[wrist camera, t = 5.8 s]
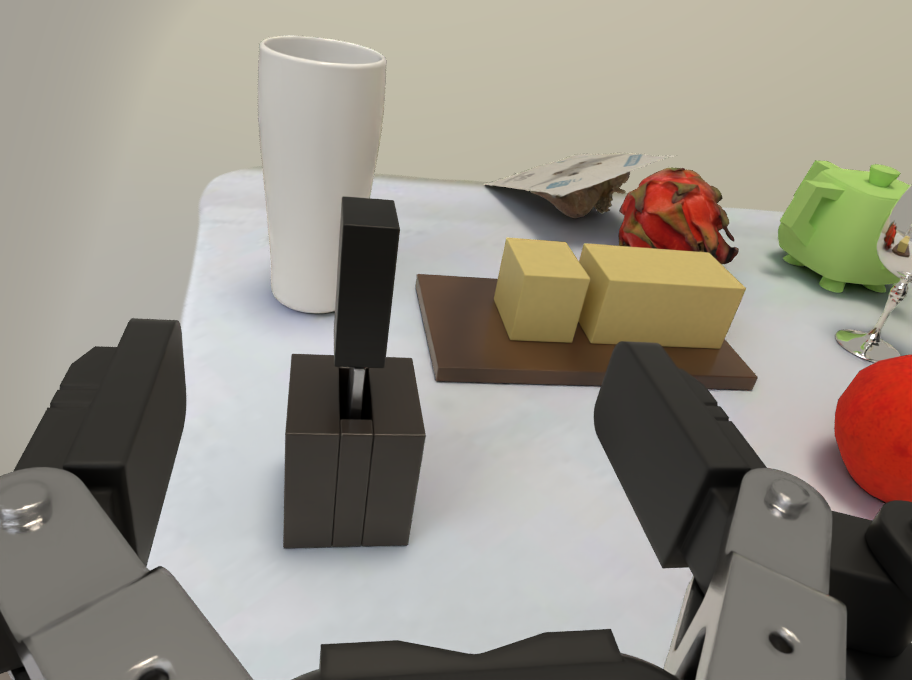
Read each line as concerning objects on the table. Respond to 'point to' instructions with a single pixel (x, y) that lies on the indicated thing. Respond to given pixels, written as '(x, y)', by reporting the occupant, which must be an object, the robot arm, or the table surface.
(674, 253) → the butter block
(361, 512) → the knife block
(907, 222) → the wineglass
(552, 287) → the butter slice
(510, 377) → the butter board
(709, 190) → the dragon fruit
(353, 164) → the white tall tumbler
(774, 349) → the table surface
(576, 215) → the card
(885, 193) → the teapot
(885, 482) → the apple
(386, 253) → the knife
